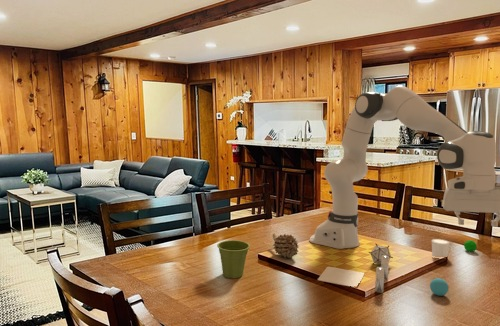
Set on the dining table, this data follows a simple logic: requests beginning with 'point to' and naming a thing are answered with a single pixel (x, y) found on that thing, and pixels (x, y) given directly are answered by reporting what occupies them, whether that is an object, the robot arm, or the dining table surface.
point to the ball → (439, 286)
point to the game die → (379, 253)
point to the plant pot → (233, 257)
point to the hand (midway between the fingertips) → (477, 225)
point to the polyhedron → (470, 246)
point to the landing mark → (341, 276)
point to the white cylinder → (440, 248)
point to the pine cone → (285, 245)
